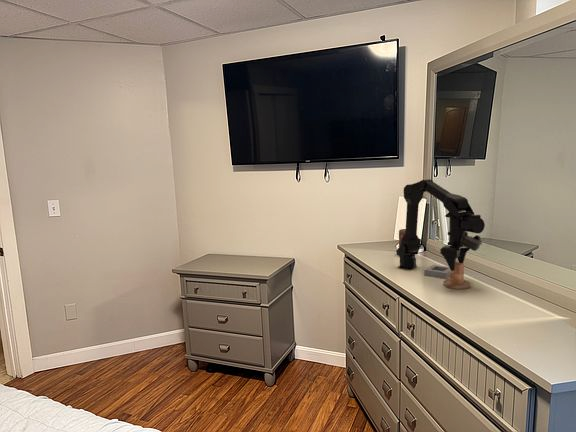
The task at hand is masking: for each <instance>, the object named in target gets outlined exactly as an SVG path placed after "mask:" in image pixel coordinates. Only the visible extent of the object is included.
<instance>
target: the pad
mask: <svg viewBox="0 0 576 432" xmlns="http://www.w3.org/2000/svg"><path fill="white" fill-rule="evenodd" d="M442 282H443V283H442V285H443V286H444V288H445V287H446V288H447V289H451V290H458V291H459V290H462V291H463V290H469V289H470V288H471V282H470V281H468V280H465V279H464V283H462V284H461V285H456V284H451V283H450V278H447V279H443V281H442Z"/></svg>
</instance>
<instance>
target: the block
mask: <svg viewBox="0 0 576 432" xmlns="http://www.w3.org/2000/svg"><path fill="white" fill-rule="evenodd" d="M464 271H465V263H464V262H463V263H459V261H456V263H455V269H454V271H451V269H450V277H449V279H450V283H451V284H456V285H461V284H462V283H464V280H465V279H464V278H465V277H464V276H465V272H464Z"/></svg>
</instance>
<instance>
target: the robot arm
mask: <svg viewBox="0 0 576 432" xmlns="http://www.w3.org/2000/svg"><path fill="white" fill-rule="evenodd" d="M426 192H427V193H429V195H431V196H433V197H434V198H435V199H437V200H438V201H439V202H441V203H442V204H443V207H444V208H445V209H446V210H447V211H448V212H447V213H446V214H445V216H444V217H445V218H449V229H448V232H447V236H449V237H448V238H449V239H448V242H447V244H446V245H444V246H442V247H441V248H440V255H441V256H443V258H444V260H445V262H446V263H447V265H448V267H450V269H451V271H454V269H455V263H456V262H459V263H464V262H465V260H466V259H465V258H466V255H467V253H468V252H469V251H470V250H472V251H477V250H480V249H479V248H480V246H481V245H482V244H483V243H482V239H481V238H482V237H481V235H475V236H470V235H469V233H474V234H481V233H482V232H483V231H484V230H485V226H486V224H485V221H484V220H483V219H482V218H481V217H482V216H481V215H480V214H475V212H474V210H473V209H472V207H471V205H470V203H469V200H468V198H467V197H464V196H463V195H460V194H455V193H452V192H449V191H448V190H447V189H445V188H444V187H442V186H440V185H439V184H437V183H435V182H434V180H433V179H430V178H428V179H422V180H420V181H418V182H415V183H411V184H405V186H404V187H403V198H404V200H405V202H406V217H405V229H406V230H405V235H404V236H403V238H402V240H401V245H400V247H399V246H398V248H397V249H396V255H397V256H399V265H398V267H397V268H398V269H402V270H403V269H404V270H409V271H411V270H413V269H415V268H417V266H418V265H417V258H416V255H418V254H419V251H420V249H421V247H422V245H421V243H422V239H421V238H419V236H418V235H417V234H418V233H417V232H418V219H419V218H418V217H419V216H418V215H419V205H420V203H421V201H422V199H423V197H424V193H426ZM468 232H469V233H468Z"/></svg>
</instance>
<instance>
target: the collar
mask: <svg viewBox="0 0 576 432" xmlns="http://www.w3.org/2000/svg"><path fill="white" fill-rule="evenodd" d="M423 273H424V276H426V277H431V278H432V277H433V278H436V279H437V278H439V279H443V280H447V279H449V278H450V267H449V266H445V265H440V264H439V265H438V264H432V265H430V266H428V267H426V268H425V269H424V270H423Z"/></svg>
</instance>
